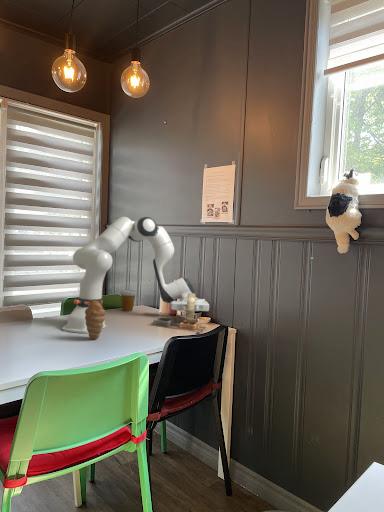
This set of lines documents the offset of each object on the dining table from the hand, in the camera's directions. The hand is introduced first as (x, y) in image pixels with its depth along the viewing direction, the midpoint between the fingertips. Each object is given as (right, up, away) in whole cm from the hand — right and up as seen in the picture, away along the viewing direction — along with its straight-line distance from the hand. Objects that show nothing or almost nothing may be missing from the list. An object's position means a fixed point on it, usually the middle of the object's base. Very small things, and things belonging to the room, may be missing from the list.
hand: (190, 309), depth 195 cm
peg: (-1, -8, +1) cm, 8 cm away
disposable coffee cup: (-39, -6, +39) cm, 56 cm away
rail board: (-7, -10, +3) cm, 13 cm away
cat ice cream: (-43, -10, -24) cm, 51 cm away
